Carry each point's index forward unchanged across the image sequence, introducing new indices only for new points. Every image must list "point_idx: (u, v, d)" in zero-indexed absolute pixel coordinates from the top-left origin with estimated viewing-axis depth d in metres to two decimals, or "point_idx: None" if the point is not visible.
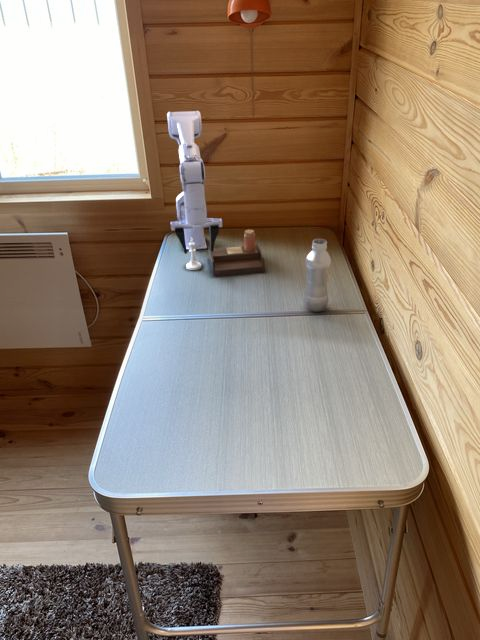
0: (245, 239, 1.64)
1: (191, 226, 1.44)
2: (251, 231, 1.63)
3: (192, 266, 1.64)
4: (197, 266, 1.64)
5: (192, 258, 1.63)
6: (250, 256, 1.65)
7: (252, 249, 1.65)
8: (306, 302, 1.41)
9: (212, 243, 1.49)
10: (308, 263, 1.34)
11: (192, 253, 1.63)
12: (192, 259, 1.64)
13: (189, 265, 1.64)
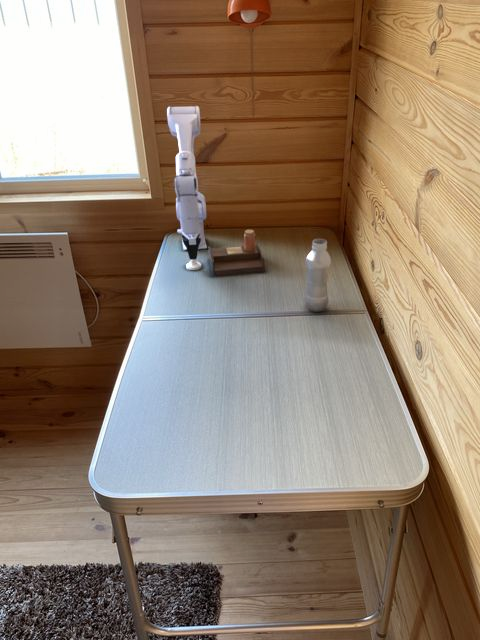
0: (245, 239, 1.64)
1: None
2: (251, 231, 1.63)
3: (192, 266, 1.64)
4: (197, 266, 1.64)
5: None
6: (250, 256, 1.65)
7: (252, 249, 1.65)
8: (306, 302, 1.41)
9: None
10: (308, 263, 1.34)
11: None
12: (192, 259, 1.64)
13: (189, 265, 1.64)
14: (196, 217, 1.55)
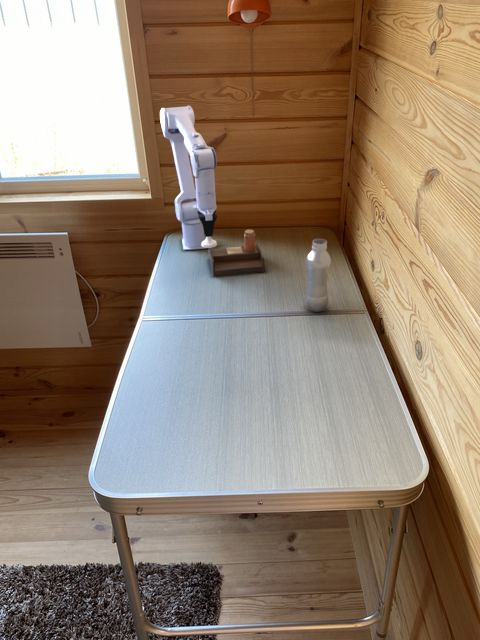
0: (245, 239, 1.64)
1: None
2: (251, 231, 1.63)
3: (207, 244, 1.61)
4: (213, 244, 1.61)
5: None
6: (250, 256, 1.65)
7: (252, 249, 1.65)
8: (306, 302, 1.41)
9: (203, 228, 1.58)
10: (308, 263, 1.34)
11: None
12: None
13: (205, 243, 1.61)
14: (213, 192, 1.52)
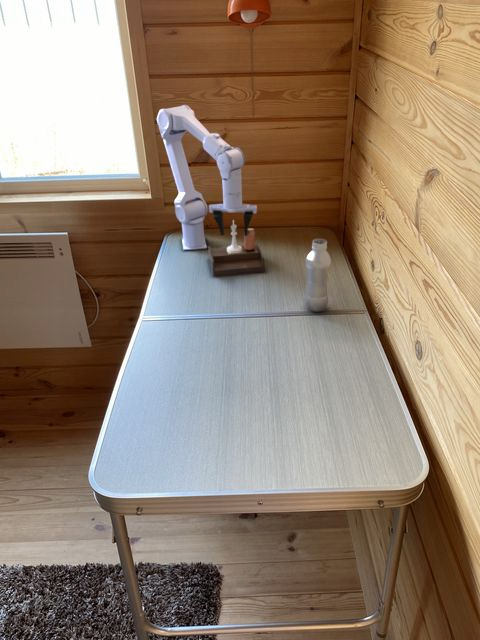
0: (245, 236, 1.64)
1: (226, 210, 1.56)
2: (251, 229, 1.64)
3: (234, 249, 1.64)
4: (239, 249, 1.65)
5: (233, 241, 1.64)
6: (250, 256, 1.65)
7: (252, 247, 1.65)
8: (306, 302, 1.41)
9: (245, 228, 1.60)
10: (308, 263, 1.34)
11: (234, 236, 1.63)
12: (233, 242, 1.64)
13: (231, 249, 1.64)
14: None
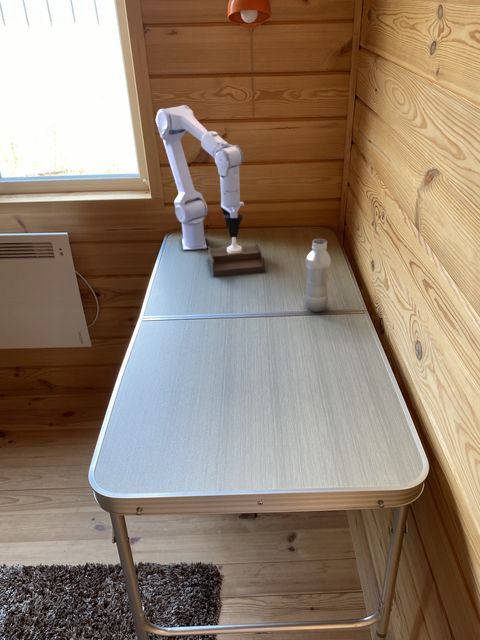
0: None
1: (240, 205, 1.57)
2: None
3: (234, 249, 1.64)
4: (239, 249, 1.65)
5: (233, 241, 1.64)
6: (250, 256, 1.65)
7: None
8: (306, 302, 1.41)
9: None
10: (308, 263, 1.34)
11: None
12: (233, 242, 1.64)
13: (231, 249, 1.64)
14: None
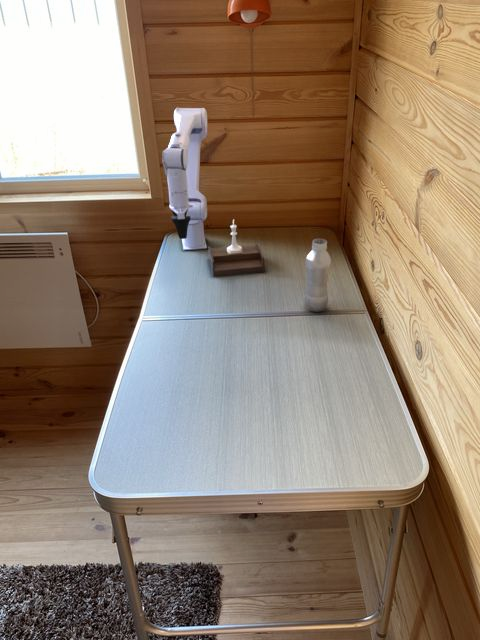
0: None
1: (188, 207, 1.56)
2: None
3: (234, 249, 1.64)
4: (239, 249, 1.65)
5: (233, 241, 1.64)
6: (250, 256, 1.65)
7: None
8: (306, 302, 1.41)
9: None
10: (308, 263, 1.34)
11: (234, 236, 1.63)
12: (233, 242, 1.64)
13: (231, 249, 1.64)
14: None
